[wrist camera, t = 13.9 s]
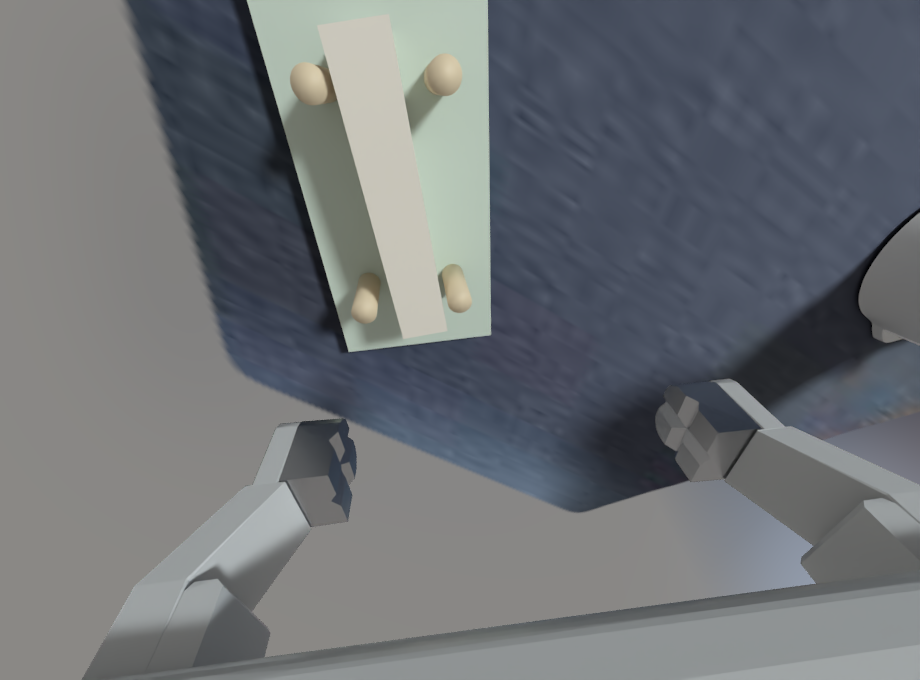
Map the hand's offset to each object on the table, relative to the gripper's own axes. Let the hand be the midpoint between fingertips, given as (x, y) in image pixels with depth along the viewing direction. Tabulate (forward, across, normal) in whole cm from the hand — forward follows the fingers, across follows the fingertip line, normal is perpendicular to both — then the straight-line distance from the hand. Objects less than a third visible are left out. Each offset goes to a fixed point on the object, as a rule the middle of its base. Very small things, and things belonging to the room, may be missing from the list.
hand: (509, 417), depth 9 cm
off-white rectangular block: (+19, +3, -1) cm, 19 cm away
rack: (+20, +4, -1) cm, 21 cm away
